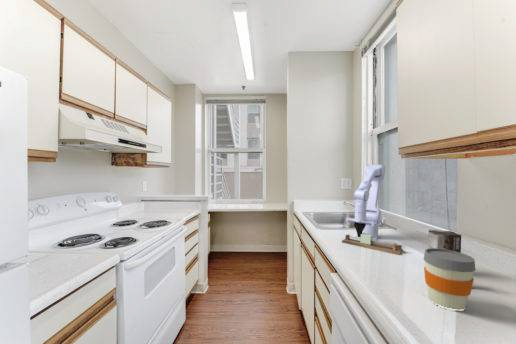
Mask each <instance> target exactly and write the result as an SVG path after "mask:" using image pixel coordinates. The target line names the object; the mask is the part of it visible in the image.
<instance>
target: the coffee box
mask: <svg viewBox="0 0 516 344" xmlns="http://www.w3.org/2000/svg"><path fill="white" fill-rule="evenodd" d="M427 239H428V241H427V242H428V243H427V244H428V246H427V249H429V248H438V249H446V250H451V251H456V252H460V253H462V234H458V233H457V232H454V231H452V230H451V231H450V230H438V229H437V230H434V229H433V230H432V229H430V230H428V238H427Z"/></svg>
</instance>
